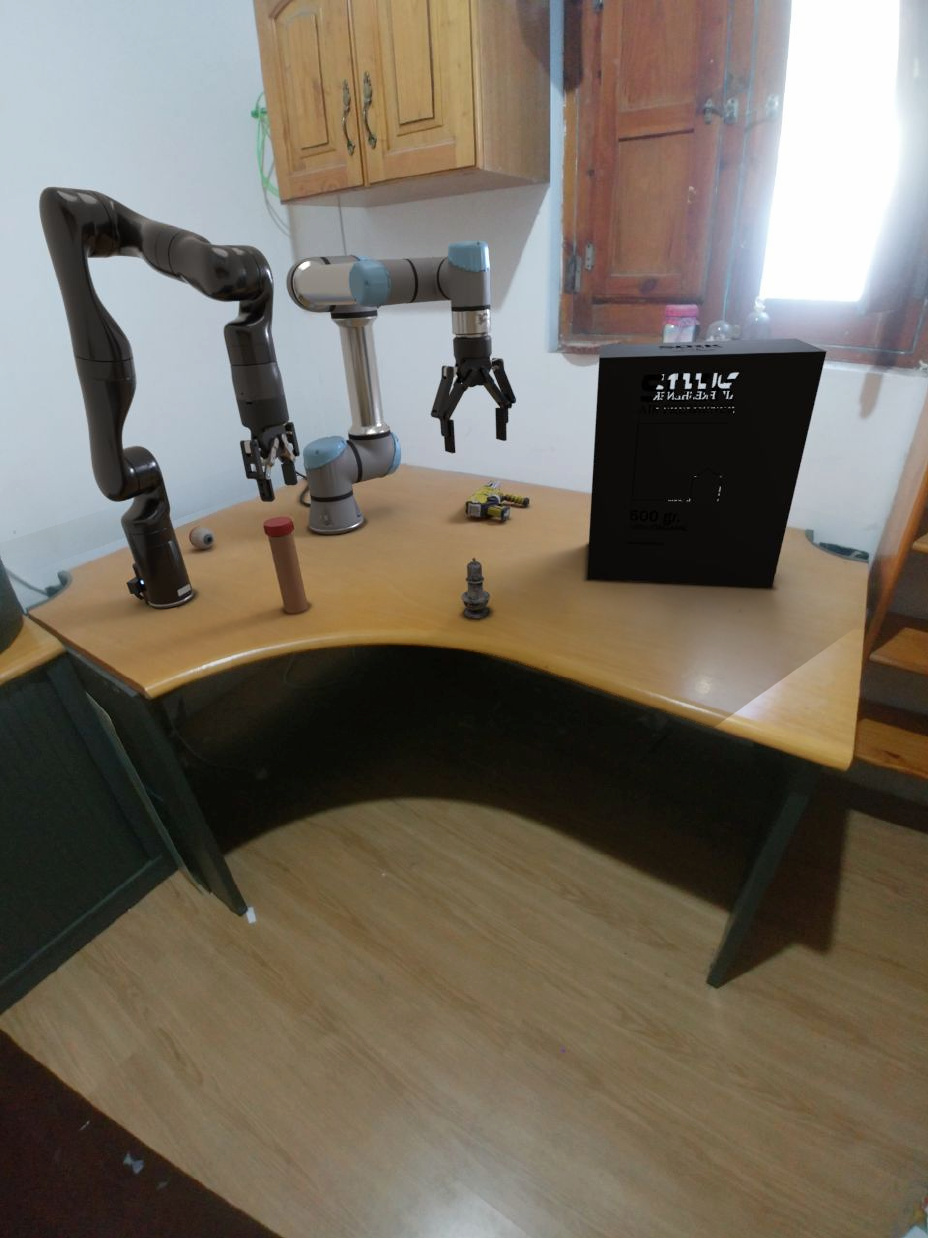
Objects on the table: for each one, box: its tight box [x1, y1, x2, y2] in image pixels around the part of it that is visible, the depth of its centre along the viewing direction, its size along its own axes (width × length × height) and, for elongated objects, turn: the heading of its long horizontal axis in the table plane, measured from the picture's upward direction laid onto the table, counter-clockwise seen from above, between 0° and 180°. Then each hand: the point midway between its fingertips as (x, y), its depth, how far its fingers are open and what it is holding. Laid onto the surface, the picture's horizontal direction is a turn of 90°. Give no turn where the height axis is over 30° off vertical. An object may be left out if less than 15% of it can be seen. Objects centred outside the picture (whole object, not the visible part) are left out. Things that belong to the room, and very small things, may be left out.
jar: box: [267, 531, 309, 615], centre depth 123 cm, size 5×5×19 cm
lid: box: [262, 516, 295, 537], centre depth 119 cm, size 6×6×2 cm
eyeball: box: [188, 525, 215, 550], centre depth 158 cm, size 6×6×6 cm
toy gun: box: [464, 480, 531, 522], centre depth 174 cm, size 5×24×15 cm
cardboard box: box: [586, 338, 828, 589], centre depth 126 cm, size 38×20×45 cm, turn 78°
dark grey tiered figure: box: [460, 557, 491, 619], centre depth 119 cm, size 6×6×12 cm
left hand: (280, 492), depth 103 cm, fingers open, 8 cm apart
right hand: (476, 445), depth 127 cm, fingers open, 13 cm apart
